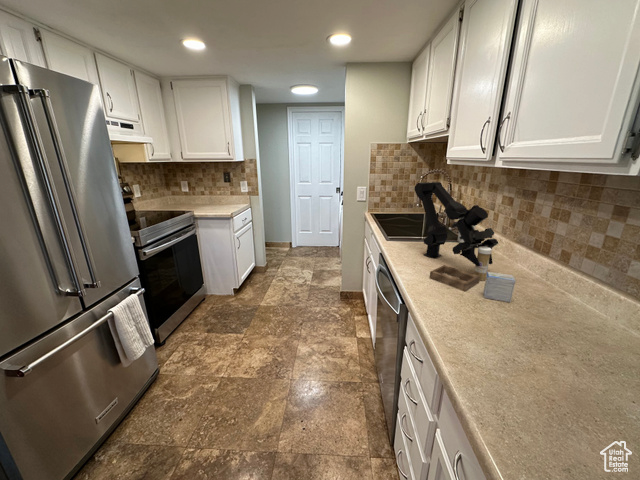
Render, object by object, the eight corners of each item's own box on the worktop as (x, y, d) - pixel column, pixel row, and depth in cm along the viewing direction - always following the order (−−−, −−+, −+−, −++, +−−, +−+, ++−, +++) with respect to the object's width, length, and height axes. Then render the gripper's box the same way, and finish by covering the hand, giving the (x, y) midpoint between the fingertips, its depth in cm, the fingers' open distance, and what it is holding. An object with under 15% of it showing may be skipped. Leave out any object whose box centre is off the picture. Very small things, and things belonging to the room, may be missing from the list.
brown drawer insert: (429, 278, 110) (430, 271, 109) (443, 271, 116) (444, 265, 115) (465, 291, 98) (466, 284, 98) (478, 283, 105) (479, 276, 104)
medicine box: (508, 297, 94) (513, 275, 92) (510, 303, 90) (516, 280, 88) (482, 292, 98) (486, 271, 95) (484, 298, 94) (488, 276, 91)
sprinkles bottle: (472, 279, 108) (477, 248, 104) (474, 275, 112) (479, 245, 108) (484, 282, 105) (490, 250, 101) (486, 278, 109) (492, 247, 105)
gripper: (462, 223, 103) (481, 259, 96) (498, 219, 108) (519, 253, 101) (444, 237, 112) (461, 271, 105) (479, 233, 117) (497, 265, 111)
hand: (485, 265), depth 105 cm, fingers open, 6 cm apart
